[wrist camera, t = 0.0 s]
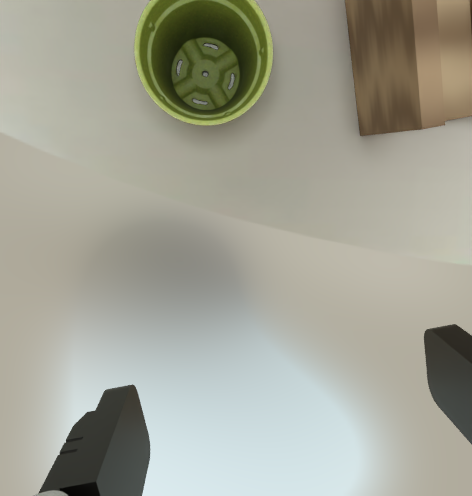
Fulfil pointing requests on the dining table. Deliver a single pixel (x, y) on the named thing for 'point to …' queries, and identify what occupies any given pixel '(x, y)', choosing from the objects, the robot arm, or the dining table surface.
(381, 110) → the wooden holder
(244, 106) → the plant pot
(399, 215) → the dining table surface
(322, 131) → the dining table surface
